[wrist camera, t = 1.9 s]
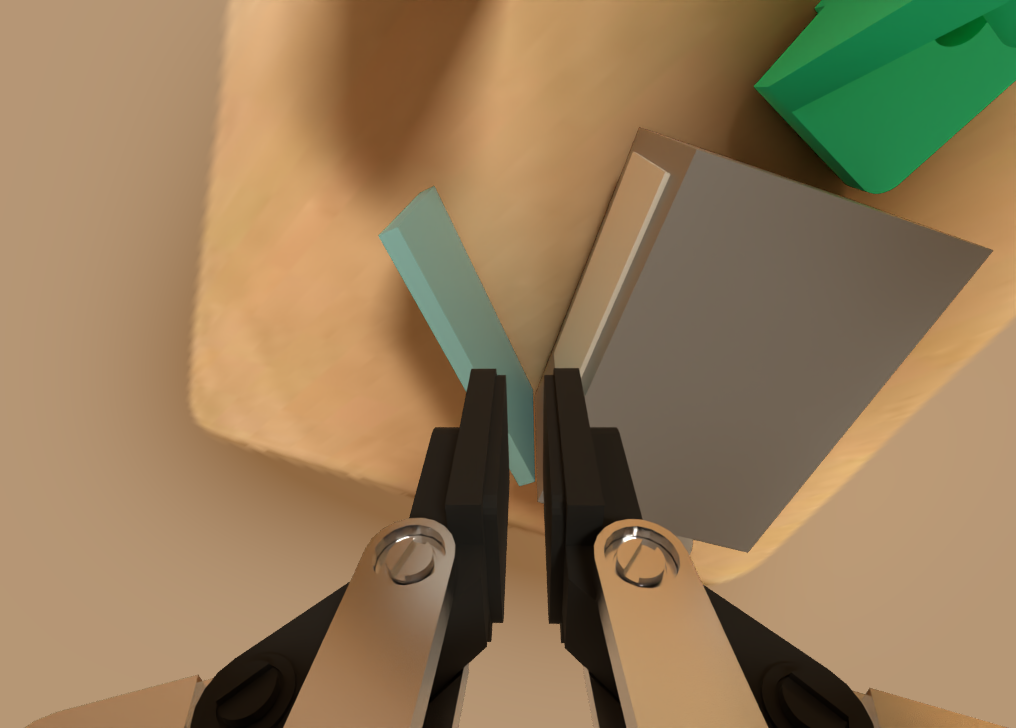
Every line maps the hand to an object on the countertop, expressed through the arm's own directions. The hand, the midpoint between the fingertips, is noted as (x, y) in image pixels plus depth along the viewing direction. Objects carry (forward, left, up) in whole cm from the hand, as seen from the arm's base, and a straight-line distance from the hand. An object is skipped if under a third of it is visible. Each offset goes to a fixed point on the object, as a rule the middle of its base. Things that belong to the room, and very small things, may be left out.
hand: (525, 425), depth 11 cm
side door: (+4, -1, -17) cm, 17 cm away
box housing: (+2, +9, -17) cm, 20 cm away
